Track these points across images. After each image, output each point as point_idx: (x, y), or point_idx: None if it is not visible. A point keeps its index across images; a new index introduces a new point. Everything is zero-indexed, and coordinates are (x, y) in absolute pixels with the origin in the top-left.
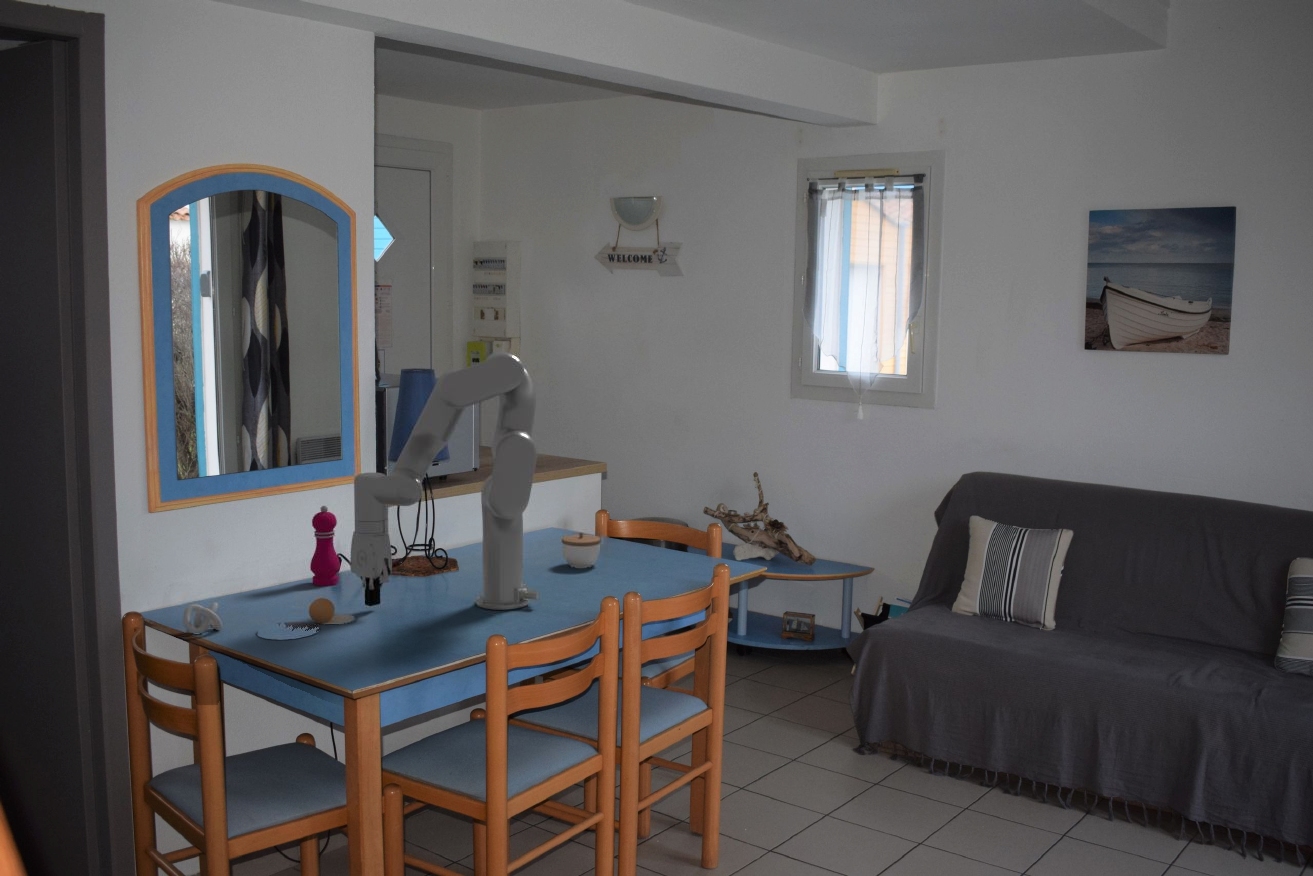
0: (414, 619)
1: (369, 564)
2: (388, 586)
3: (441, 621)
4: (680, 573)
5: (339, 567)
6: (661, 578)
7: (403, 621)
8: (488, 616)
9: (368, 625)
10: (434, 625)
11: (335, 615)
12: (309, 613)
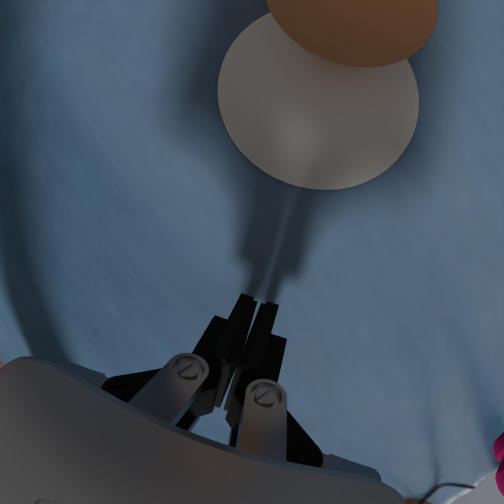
0: (68, 261)
1: (3, 474)
2: None
3: (29, 271)
4: None
5: (496, 476)
6: None
7: (72, 226)
8: (24, 332)
9: (120, 109)
10: (17, 233)
11: (371, 146)
12: None
